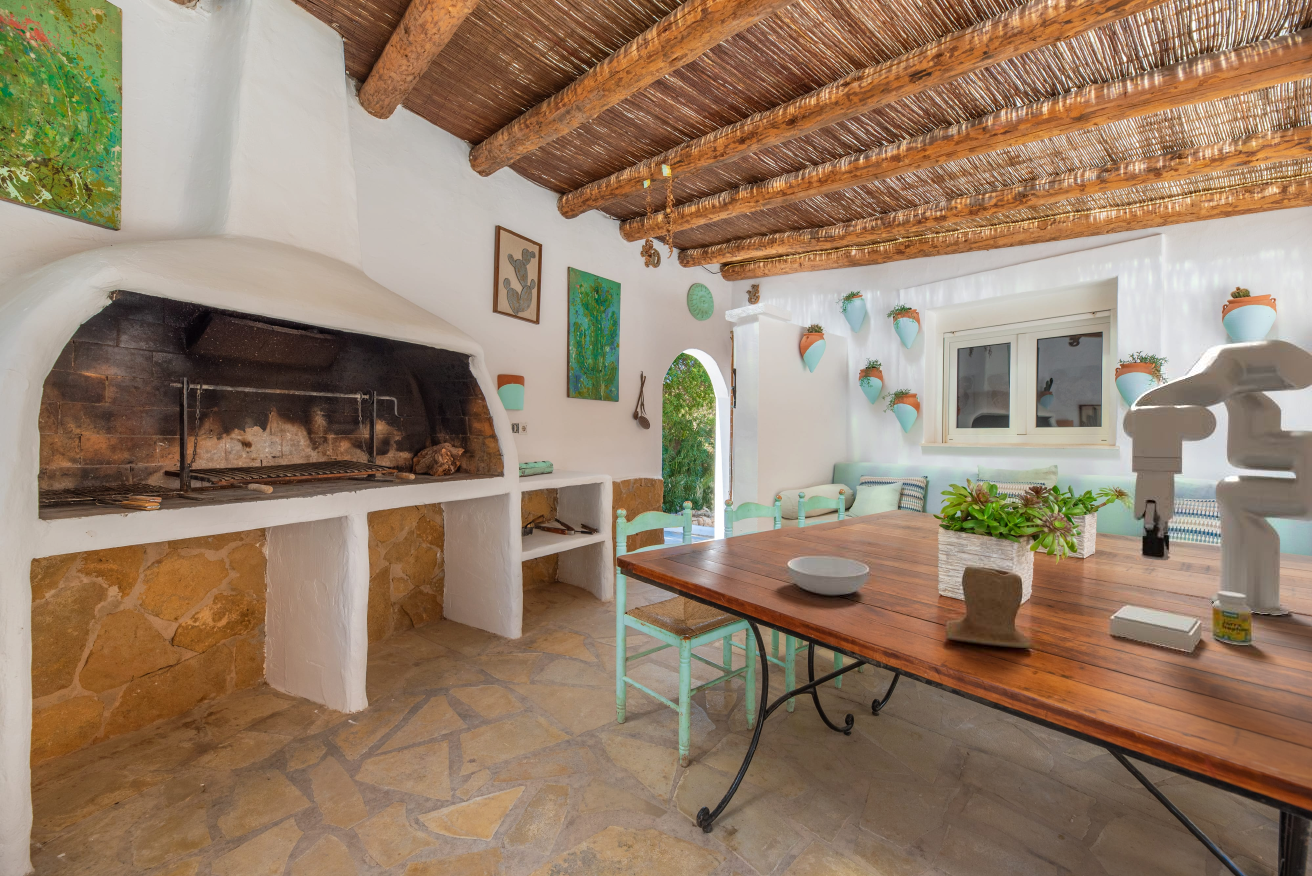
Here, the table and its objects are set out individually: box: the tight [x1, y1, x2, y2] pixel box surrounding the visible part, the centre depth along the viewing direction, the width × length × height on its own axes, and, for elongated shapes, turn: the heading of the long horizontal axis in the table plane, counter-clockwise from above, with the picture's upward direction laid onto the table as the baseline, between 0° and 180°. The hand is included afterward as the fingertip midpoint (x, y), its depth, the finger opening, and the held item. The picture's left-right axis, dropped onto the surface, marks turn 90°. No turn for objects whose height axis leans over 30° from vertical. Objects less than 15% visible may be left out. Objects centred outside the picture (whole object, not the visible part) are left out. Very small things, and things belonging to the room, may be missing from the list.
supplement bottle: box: [1212, 590, 1253, 645], centre depth 108 cm, size 5×5×10 cm
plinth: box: [1109, 604, 1202, 652], centre depth 110 cm, size 12×12×4 cm
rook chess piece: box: [1140, 519, 1171, 561], centre depth 110 cm, size 4×4×8 cm
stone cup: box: [945, 565, 1032, 649], centre depth 108 cm, size 15×12×15 cm
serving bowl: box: [786, 555, 870, 596], centre depth 143 cm, size 21×21×7 cm
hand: (1155, 553), depth 110 cm, fingers closed on rook chess piece, 4 cm apart
